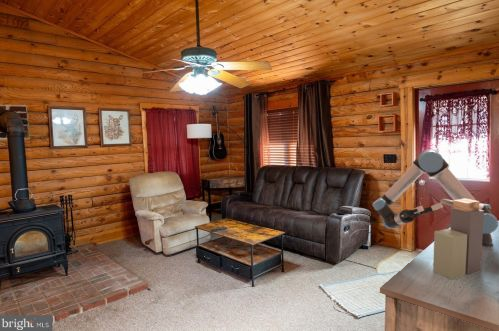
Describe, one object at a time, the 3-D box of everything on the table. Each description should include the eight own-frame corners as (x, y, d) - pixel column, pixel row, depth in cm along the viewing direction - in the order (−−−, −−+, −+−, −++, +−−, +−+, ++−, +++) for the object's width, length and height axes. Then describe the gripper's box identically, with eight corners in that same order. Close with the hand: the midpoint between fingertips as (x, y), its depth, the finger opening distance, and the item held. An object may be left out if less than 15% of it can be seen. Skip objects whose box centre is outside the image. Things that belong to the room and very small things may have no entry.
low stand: (446, 267, 158) (448, 228, 156) (465, 275, 150) (467, 234, 147) (433, 270, 155) (434, 231, 153) (451, 279, 146) (453, 237, 144)
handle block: (447, 202, 166) (447, 194, 165) (479, 209, 151) (479, 201, 151) (436, 204, 163) (436, 196, 163) (467, 211, 148) (467, 203, 148)
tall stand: (461, 263, 162) (464, 205, 158) (480, 271, 153) (484, 210, 149) (448, 266, 159) (451, 208, 155) (467, 275, 150) (470, 212, 146)
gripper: (422, 220, 191) (452, 210, 172) (390, 226, 183) (417, 216, 164) (417, 208, 194) (446, 197, 175) (385, 213, 185) (411, 202, 167)
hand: (432, 206), depth 170 cm, fingers open, 13 cm apart
